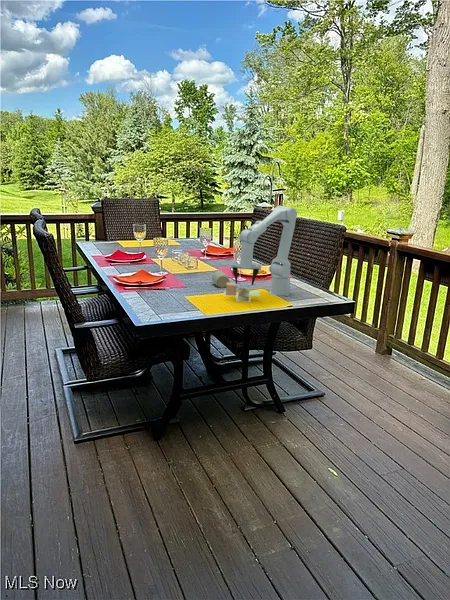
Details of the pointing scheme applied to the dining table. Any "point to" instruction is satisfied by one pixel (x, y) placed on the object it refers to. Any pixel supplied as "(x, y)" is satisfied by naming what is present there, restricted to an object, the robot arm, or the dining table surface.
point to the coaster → (254, 293)
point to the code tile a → (240, 300)
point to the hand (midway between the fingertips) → (244, 283)
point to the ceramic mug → (220, 279)
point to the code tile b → (231, 295)
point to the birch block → (243, 294)
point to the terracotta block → (231, 288)
